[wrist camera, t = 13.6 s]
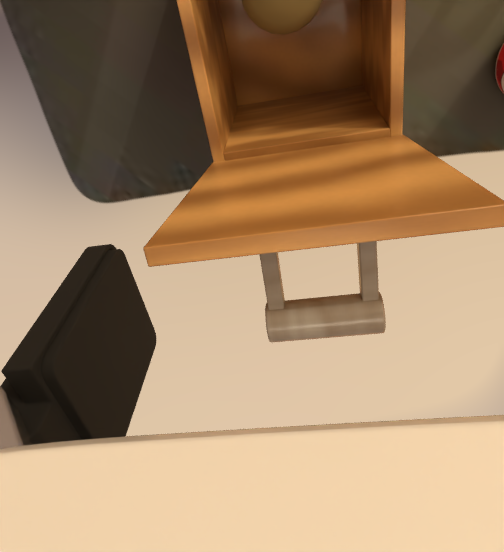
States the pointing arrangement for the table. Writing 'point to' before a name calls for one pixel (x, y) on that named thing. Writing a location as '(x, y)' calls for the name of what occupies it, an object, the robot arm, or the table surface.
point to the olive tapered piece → (281, 14)
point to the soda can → (500, 69)
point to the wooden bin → (296, 76)
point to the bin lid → (322, 221)
